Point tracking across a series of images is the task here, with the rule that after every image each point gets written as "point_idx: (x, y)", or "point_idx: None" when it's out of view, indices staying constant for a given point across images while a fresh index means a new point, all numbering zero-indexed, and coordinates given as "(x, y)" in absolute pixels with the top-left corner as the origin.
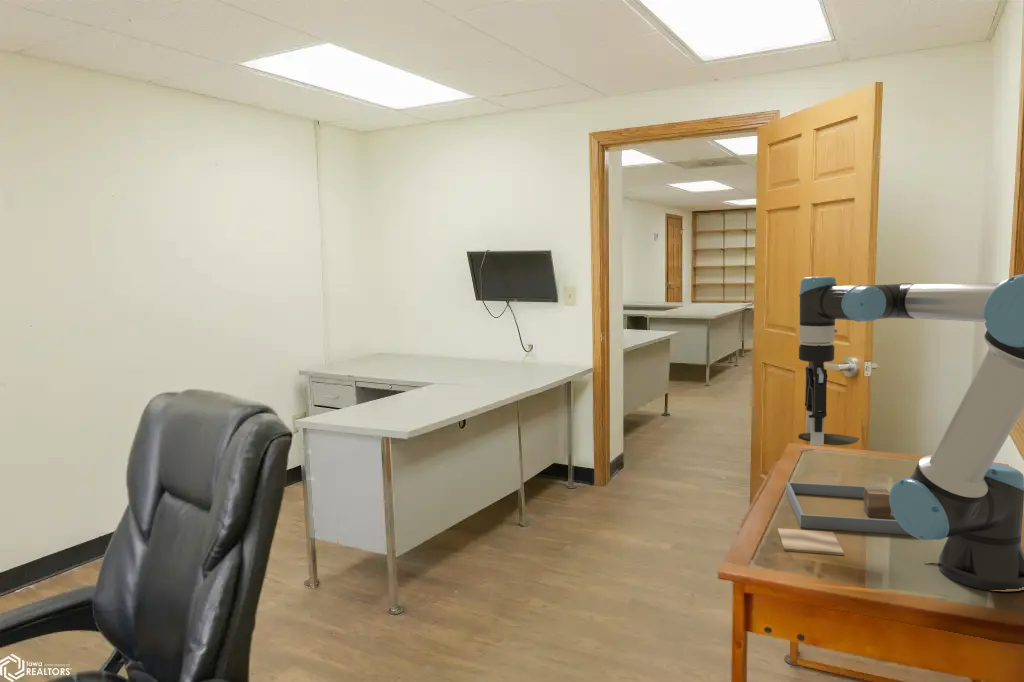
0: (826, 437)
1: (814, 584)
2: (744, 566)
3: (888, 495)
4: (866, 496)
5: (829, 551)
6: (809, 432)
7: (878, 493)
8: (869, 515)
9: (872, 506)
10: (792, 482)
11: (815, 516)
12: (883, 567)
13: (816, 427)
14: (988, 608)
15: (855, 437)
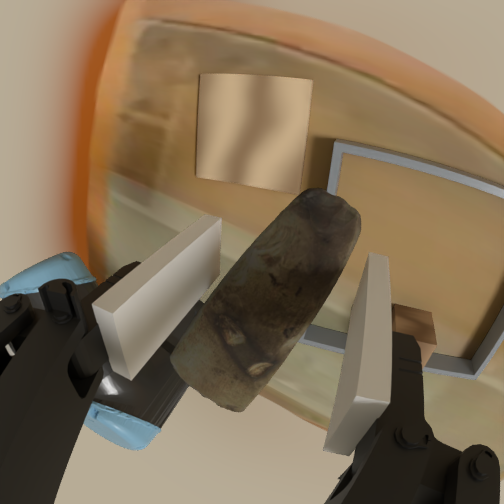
0: (208, 313)
1: (102, 106)
2: (138, 13)
3: None
4: (414, 331)
5: (197, 153)
6: (362, 288)
7: None
8: (394, 307)
9: (393, 323)
10: None
11: (329, 175)
12: (166, 218)
13: (111, 281)
14: (104, 275)
15: (226, 404)
